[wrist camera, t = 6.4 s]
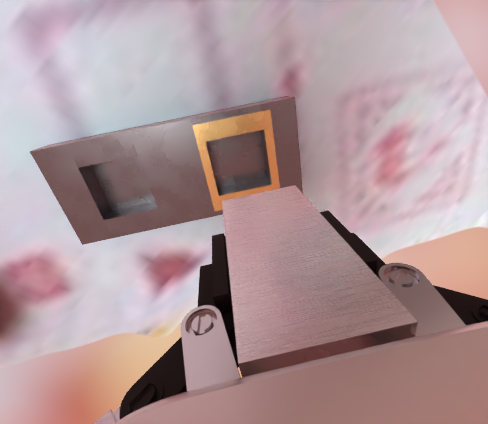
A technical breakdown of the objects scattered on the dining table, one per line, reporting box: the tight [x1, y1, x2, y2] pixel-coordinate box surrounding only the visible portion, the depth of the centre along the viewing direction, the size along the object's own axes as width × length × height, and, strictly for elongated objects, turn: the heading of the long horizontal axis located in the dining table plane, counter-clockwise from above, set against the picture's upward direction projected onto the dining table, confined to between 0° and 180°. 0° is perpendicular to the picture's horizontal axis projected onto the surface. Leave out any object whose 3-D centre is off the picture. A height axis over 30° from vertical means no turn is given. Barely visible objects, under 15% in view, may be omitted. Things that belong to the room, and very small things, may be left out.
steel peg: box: [222, 185, 418, 377], centre depth 10 cm, size 4×4×9 cm
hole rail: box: [30, 96, 303, 245], centre depth 26 cm, size 10×24×3 cm, turn 100°
